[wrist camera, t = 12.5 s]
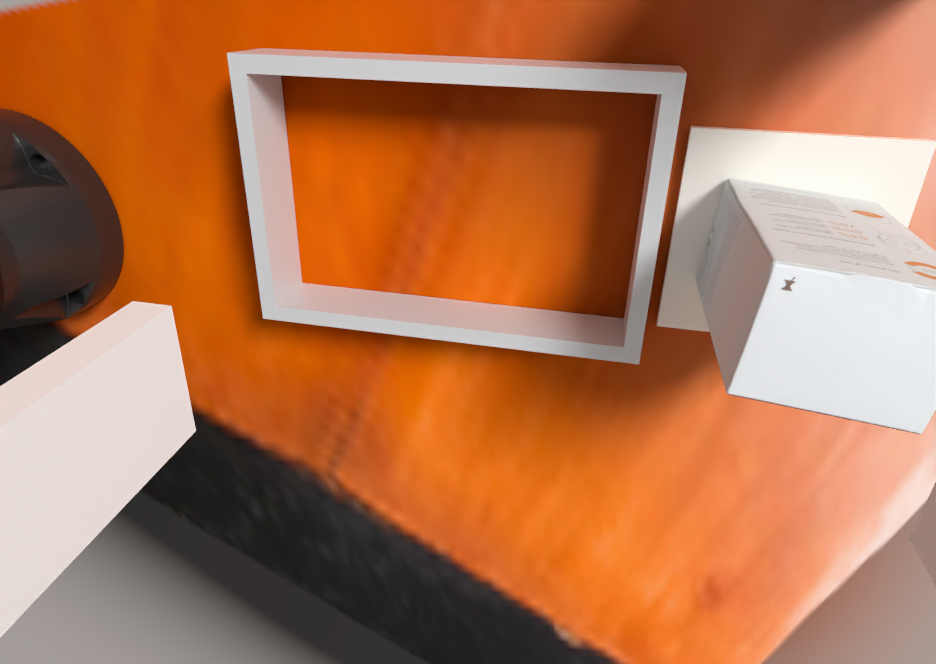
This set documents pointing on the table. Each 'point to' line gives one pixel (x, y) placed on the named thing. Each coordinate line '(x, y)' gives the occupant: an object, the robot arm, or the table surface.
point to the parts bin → (423, 315)
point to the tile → (782, 164)
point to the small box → (821, 305)
